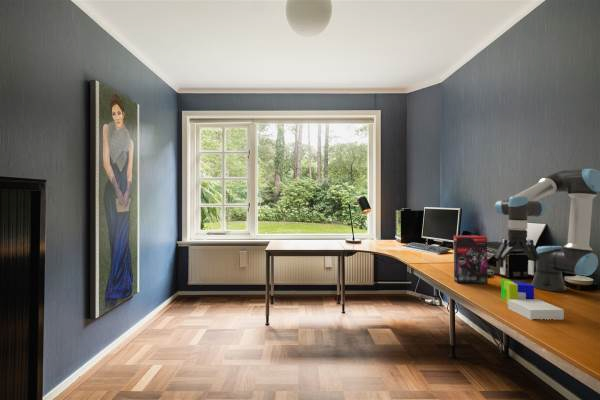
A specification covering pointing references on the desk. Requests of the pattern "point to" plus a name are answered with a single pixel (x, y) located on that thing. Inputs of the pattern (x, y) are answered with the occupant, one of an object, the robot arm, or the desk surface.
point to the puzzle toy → (516, 290)
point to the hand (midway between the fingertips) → (516, 274)
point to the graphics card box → (470, 259)
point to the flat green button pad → (490, 272)
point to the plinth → (535, 309)
